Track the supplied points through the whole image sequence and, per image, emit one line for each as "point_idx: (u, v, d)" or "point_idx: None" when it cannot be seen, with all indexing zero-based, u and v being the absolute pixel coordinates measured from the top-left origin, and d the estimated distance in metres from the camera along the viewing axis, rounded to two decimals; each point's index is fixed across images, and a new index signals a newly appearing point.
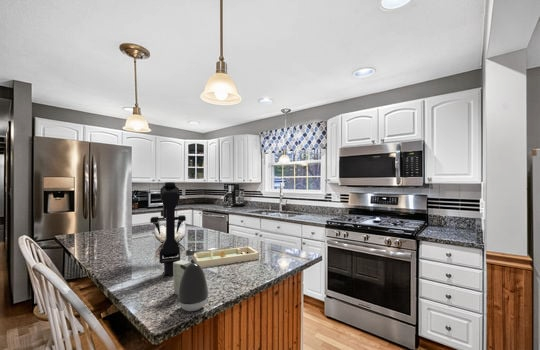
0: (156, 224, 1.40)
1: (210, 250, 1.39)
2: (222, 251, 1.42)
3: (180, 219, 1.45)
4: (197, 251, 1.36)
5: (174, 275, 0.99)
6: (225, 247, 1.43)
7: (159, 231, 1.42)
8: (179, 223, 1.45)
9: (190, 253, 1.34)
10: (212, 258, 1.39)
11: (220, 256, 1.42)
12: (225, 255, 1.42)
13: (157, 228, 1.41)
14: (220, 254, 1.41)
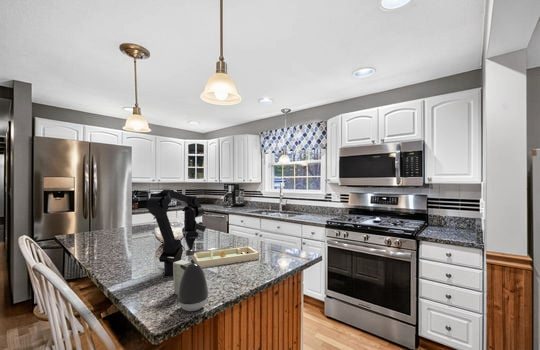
0: (183, 234, 1.40)
1: (210, 250, 1.39)
2: (222, 251, 1.42)
3: (185, 235, 1.28)
4: (197, 251, 1.36)
5: (174, 275, 0.99)
6: (225, 247, 1.43)
7: (186, 242, 1.39)
8: (185, 239, 1.29)
9: (190, 253, 1.34)
10: (212, 258, 1.39)
11: (220, 256, 1.42)
12: (225, 255, 1.42)
13: None
14: (220, 254, 1.41)
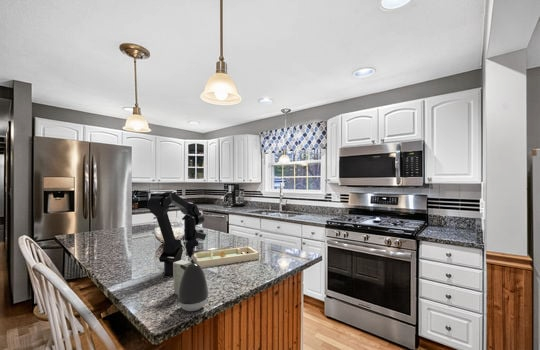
0: None
1: (210, 250, 1.39)
2: (222, 251, 1.42)
3: (185, 244, 1.28)
4: (197, 251, 1.36)
5: (174, 275, 0.99)
6: (225, 247, 1.43)
7: None
8: (185, 247, 1.31)
9: None
10: (212, 258, 1.39)
11: (220, 256, 1.42)
12: (225, 255, 1.42)
13: None
14: (220, 254, 1.41)
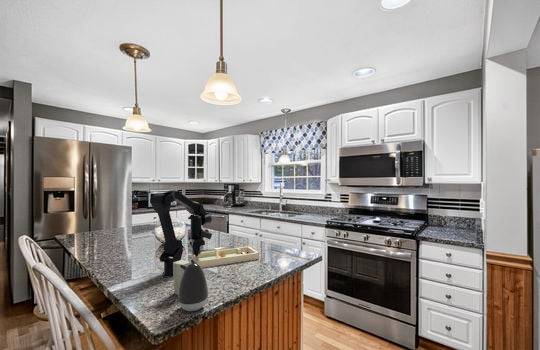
0: (190, 243, 1.38)
1: (216, 249, 1.40)
2: (222, 251, 1.42)
3: (192, 243, 1.29)
4: (203, 250, 1.38)
5: (174, 275, 0.99)
6: None
7: None
8: (191, 246, 1.33)
9: None
10: (218, 257, 1.40)
11: (220, 256, 1.42)
12: (225, 255, 1.42)
13: None
14: (220, 254, 1.41)
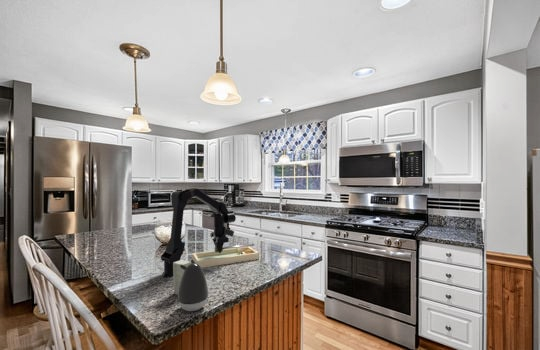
0: (213, 240, 1.44)
1: (237, 247, 1.45)
2: None
3: (216, 240, 1.35)
4: (225, 248, 1.43)
5: (174, 275, 0.99)
6: (251, 244, 1.50)
7: None
8: (215, 243, 1.38)
9: None
10: (239, 254, 1.45)
11: (250, 250, 1.49)
12: (247, 253, 1.48)
13: None
14: None
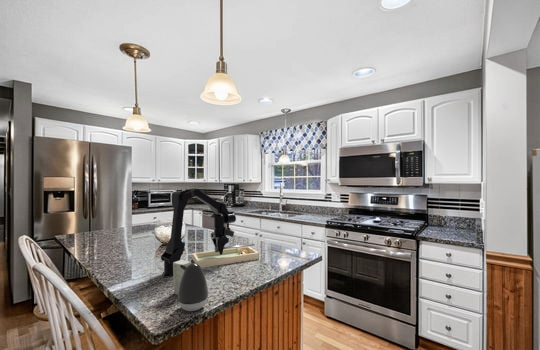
0: (212, 240, 1.46)
1: (237, 247, 1.45)
2: None
3: (216, 240, 1.35)
4: (225, 248, 1.43)
5: (174, 275, 0.99)
6: (251, 244, 1.50)
7: None
8: (216, 244, 1.36)
9: None
10: (239, 254, 1.45)
11: (242, 251, 1.47)
12: None
13: None
14: (245, 250, 1.47)
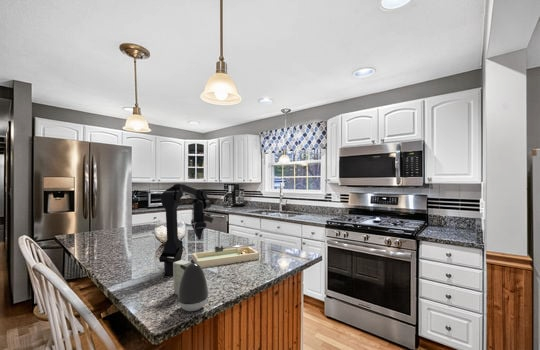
0: (192, 225, 1.49)
1: (237, 247, 1.45)
2: (247, 252, 1.49)
3: (194, 225, 1.37)
4: (225, 248, 1.43)
5: (174, 275, 0.99)
6: (251, 244, 1.50)
7: (195, 233, 1.48)
8: (194, 229, 1.38)
9: (219, 249, 1.40)
10: (239, 254, 1.45)
11: (243, 251, 1.47)
12: None
13: (193, 229, 1.49)
14: (245, 250, 1.48)
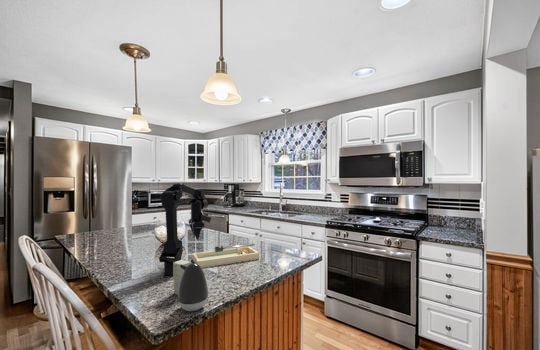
0: None
1: (237, 247, 1.45)
2: (247, 252, 1.49)
3: (192, 225, 1.37)
4: (225, 248, 1.43)
5: (174, 275, 0.99)
6: (251, 244, 1.50)
7: None
8: (192, 229, 1.38)
9: (219, 249, 1.40)
10: (239, 254, 1.45)
11: (243, 251, 1.48)
12: None
13: (191, 229, 1.49)
14: (245, 250, 1.48)
